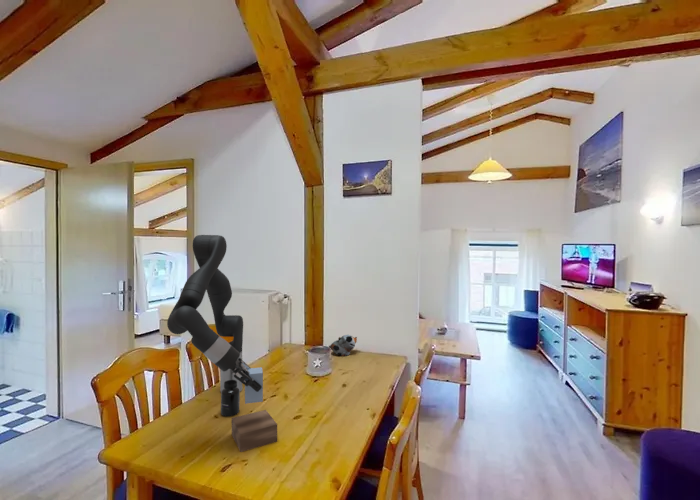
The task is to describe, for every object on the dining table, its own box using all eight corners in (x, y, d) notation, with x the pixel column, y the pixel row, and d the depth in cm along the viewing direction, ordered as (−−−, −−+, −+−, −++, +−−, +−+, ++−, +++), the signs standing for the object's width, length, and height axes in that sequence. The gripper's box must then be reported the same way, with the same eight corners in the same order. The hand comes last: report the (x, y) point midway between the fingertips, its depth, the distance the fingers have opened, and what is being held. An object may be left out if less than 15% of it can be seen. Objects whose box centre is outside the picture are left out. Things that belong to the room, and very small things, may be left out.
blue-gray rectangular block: (244, 396, 123) (244, 368, 123) (261, 394, 125) (261, 367, 125) (245, 403, 118) (245, 374, 118) (262, 401, 120) (262, 372, 120)
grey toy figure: (340, 348, 225) (351, 329, 224) (352, 360, 217) (364, 340, 216) (324, 346, 213) (336, 326, 212) (336, 359, 206) (348, 338, 204)
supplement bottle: (220, 418, 135) (220, 386, 135) (221, 410, 142) (221, 379, 142) (239, 415, 137) (239, 384, 137) (239, 407, 144) (239, 377, 144)
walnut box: (231, 435, 124) (231, 417, 124) (265, 426, 130) (265, 409, 130) (240, 453, 114) (240, 434, 114) (277, 442, 120) (277, 424, 120)
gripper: (229, 351, 112) (269, 385, 116) (230, 339, 126) (265, 370, 130) (211, 369, 111) (251, 403, 114) (214, 355, 124) (250, 386, 128)
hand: (259, 385), depth 122 cm, fingers closed on blue-gray rectangular block, 5 cm apart
